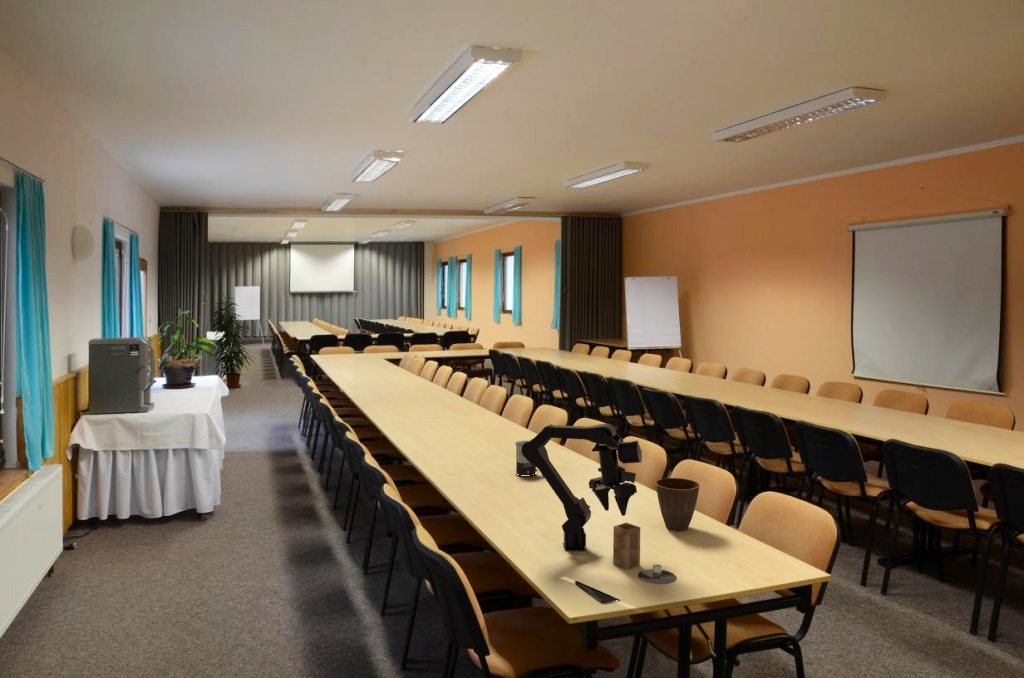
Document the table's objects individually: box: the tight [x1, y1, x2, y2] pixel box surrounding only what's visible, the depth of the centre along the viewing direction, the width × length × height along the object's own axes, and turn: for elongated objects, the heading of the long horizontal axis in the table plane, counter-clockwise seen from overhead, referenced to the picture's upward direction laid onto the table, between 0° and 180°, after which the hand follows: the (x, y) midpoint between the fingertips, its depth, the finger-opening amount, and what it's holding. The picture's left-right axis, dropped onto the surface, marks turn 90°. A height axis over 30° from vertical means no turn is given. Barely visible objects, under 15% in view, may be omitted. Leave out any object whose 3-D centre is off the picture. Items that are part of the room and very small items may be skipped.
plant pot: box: [655, 477, 700, 532], centre depth 251 cm, size 15×15×16 cm
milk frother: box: [514, 440, 537, 475], centre depth 330 cm, size 14×16×15 cm
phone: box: [574, 580, 621, 604], centre depth 198 cm, size 8×1×15 cm
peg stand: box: [637, 564, 677, 585], centre depth 206 cm, size 11×11×4 cm
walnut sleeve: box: [612, 522, 641, 571], centre depth 214 cm, size 6×6×12 cm
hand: (615, 512), depth 226 cm, fingers open, 9 cm apart
